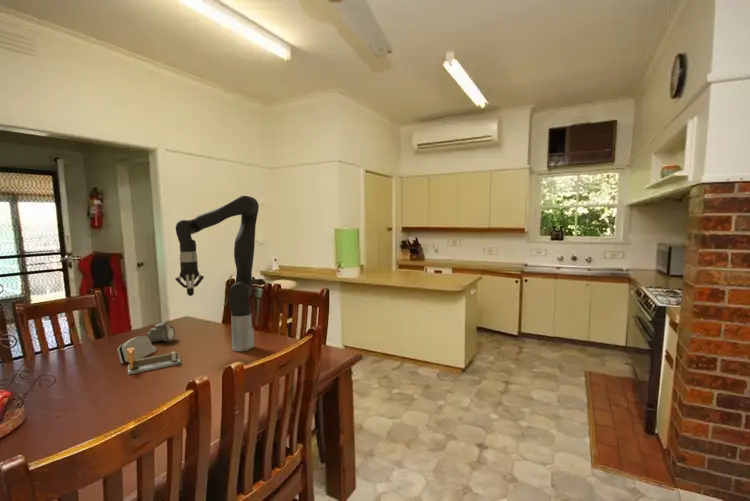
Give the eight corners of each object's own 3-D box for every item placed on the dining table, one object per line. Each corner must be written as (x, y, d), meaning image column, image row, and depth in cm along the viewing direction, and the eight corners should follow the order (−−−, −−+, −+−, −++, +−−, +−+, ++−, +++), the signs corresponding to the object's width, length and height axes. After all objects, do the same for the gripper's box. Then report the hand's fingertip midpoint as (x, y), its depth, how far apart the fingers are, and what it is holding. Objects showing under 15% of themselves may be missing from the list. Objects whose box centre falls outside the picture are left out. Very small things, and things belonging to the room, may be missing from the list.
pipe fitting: (177, 337, 188) (173, 319, 186) (169, 343, 180) (165, 325, 178) (154, 340, 187) (150, 322, 185) (146, 347, 179) (141, 328, 177)
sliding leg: (134, 362, 149) (134, 347, 149) (134, 368, 144) (134, 352, 143) (128, 364, 148) (127, 348, 148) (127, 369, 143) (127, 353, 142)
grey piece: (178, 357, 159) (178, 346, 159) (181, 364, 152) (180, 352, 152) (128, 367, 149) (127, 355, 148) (128, 374, 141) (127, 362, 141)
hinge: (131, 363, 153) (122, 342, 153) (121, 367, 153) (113, 346, 153) (157, 350, 170) (149, 331, 169) (148, 353, 170) (141, 334, 170)
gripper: (174, 262, 163) (176, 298, 164) (204, 260, 170) (206, 295, 172) (172, 261, 169) (174, 296, 170) (202, 259, 177) (203, 292, 178)
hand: (190, 295), depth 171 cm, fingers closed
